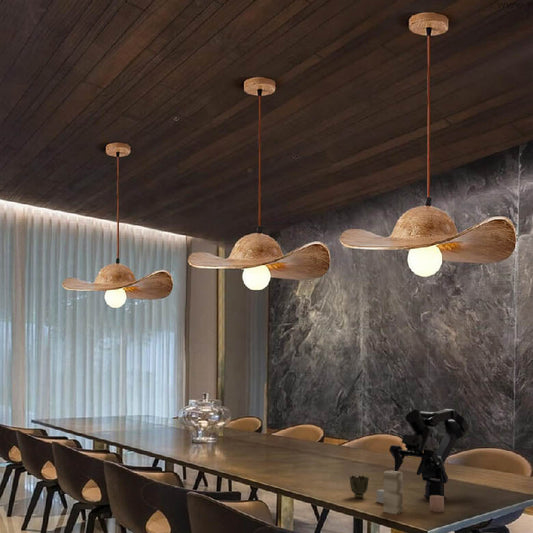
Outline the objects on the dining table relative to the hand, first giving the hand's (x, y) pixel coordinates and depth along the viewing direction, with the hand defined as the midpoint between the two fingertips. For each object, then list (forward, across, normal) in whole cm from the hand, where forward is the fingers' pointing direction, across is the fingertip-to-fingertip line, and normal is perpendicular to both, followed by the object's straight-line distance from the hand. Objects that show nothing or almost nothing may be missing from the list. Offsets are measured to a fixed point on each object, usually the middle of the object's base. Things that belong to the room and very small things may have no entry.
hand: (406, 473), depth 267 cm
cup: (+9, -21, +8) cm, 24 cm away
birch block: (+17, +1, 0) cm, 17 cm away
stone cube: (+9, -9, +8) cm, 15 cm away
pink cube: (+8, +11, +10) cm, 17 cm away
